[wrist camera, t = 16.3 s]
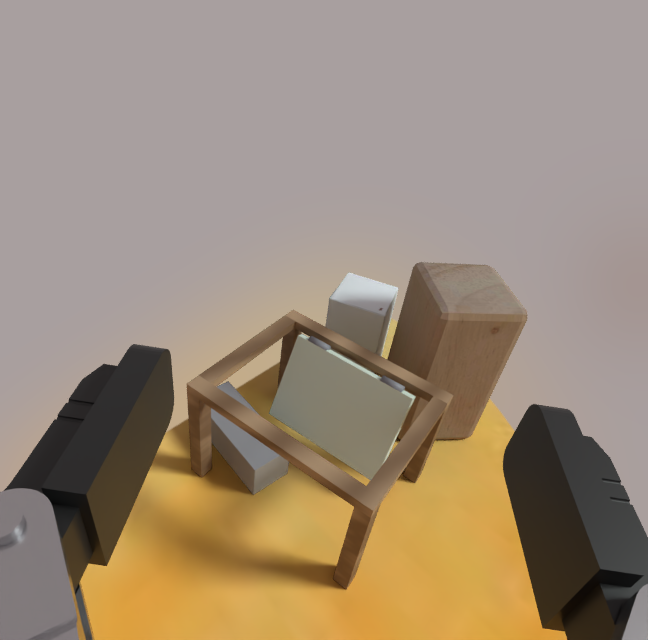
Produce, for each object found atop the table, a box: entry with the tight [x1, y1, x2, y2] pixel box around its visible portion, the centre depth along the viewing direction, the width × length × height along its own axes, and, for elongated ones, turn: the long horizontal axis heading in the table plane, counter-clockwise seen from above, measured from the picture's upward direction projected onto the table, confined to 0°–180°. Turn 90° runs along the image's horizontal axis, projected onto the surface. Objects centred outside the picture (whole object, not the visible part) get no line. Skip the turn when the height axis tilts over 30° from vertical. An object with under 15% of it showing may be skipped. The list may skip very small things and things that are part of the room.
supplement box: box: [325, 273, 398, 373], centre depth 65 cm, size 7×7×13 cm
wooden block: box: [388, 262, 527, 440], centre depth 58 cm, size 10×10×20 cm
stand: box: [187, 310, 453, 589], centre depth 50 cm, size 20×16×13 cm
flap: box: [269, 334, 416, 480], centre depth 52 cm, size 14×10×1 cm
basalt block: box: [211, 382, 289, 495], centre depth 54 cm, size 4×4×12 cm
